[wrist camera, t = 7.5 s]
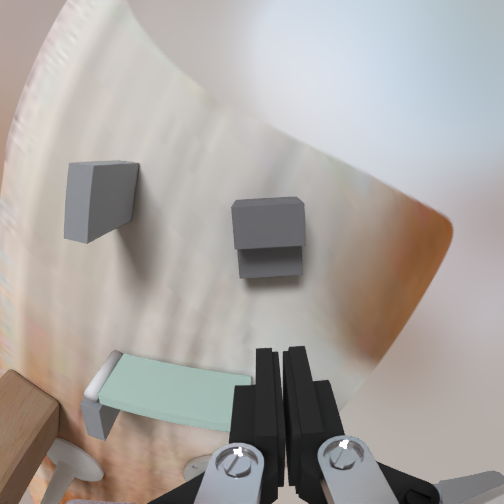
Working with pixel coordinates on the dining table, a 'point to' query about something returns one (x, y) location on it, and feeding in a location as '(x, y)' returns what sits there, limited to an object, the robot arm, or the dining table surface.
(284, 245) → the dark grey stepped block
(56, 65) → the dining table surface
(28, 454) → the wooden block
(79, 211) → the door frame
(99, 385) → the door
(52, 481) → the candlestick
